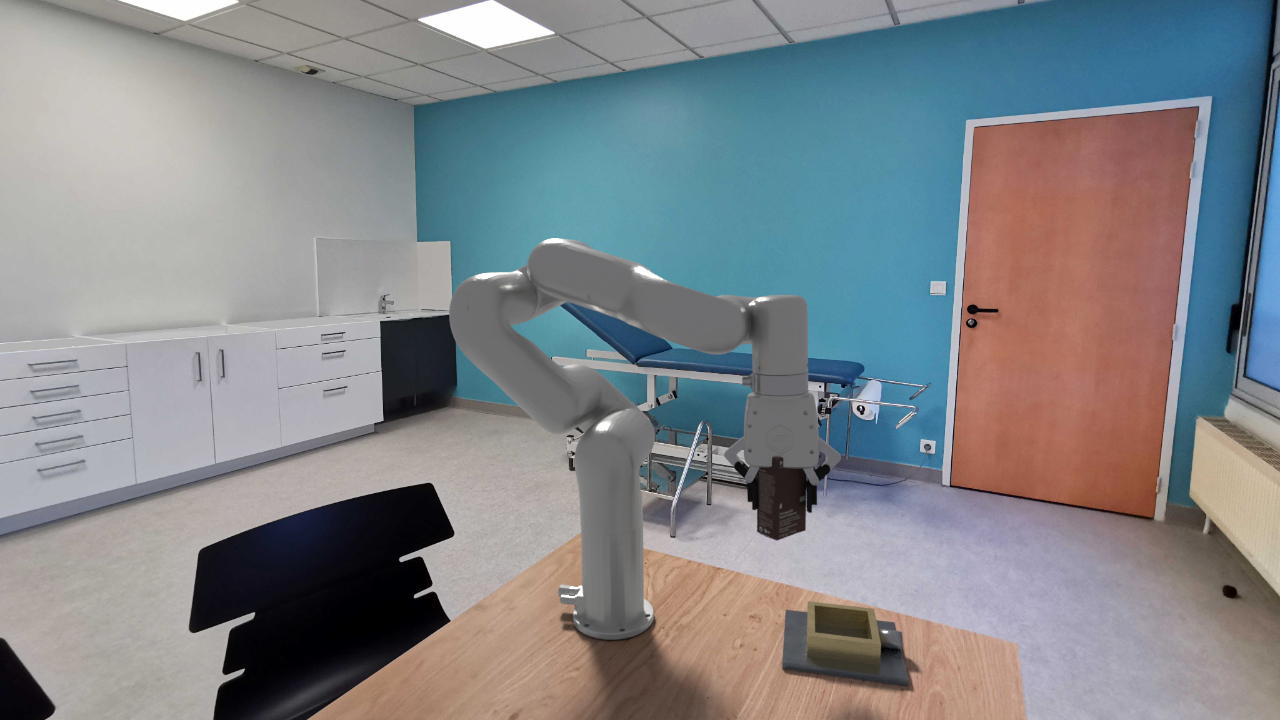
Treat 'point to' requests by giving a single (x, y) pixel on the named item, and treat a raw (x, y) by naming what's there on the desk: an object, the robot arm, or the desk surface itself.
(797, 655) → the square socket base
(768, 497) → the box
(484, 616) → the desk surface
